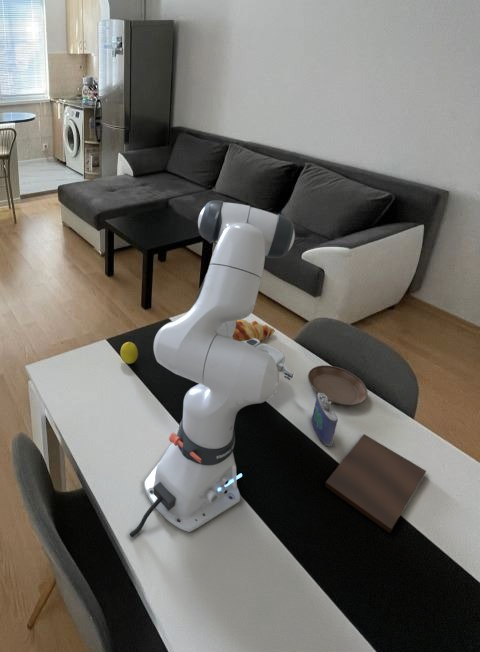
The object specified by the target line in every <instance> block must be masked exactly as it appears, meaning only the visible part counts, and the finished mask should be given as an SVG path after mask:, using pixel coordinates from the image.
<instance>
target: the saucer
mask: <svg viewBox="0 0 480 652" xmlns="http://www.w3.org/2000/svg"><path fill="white" fill-rule="evenodd" d="M307 380H308V383H309V385H310V386H311V387H312V389H313V390H314V391H315V392H316V393H317V394H318V393H323V394H325V395H326V396H327V397H328V402H330V401H331V404H332V403H333V404H335V405H339V406H345V407H346V406H347V407H348V406H349V407H350V406H356V405H359V404H361V403H363V402H365V401H366V400H367V398H368V395H369V393H368V389H367V387H366V384H365V383H364V381H362V380H361V379H360V378H359V377H358V376H356V375H355V374H354V373H352V372H350V371H348V370H346V369H344V368H342V367H338V366H333V365H326V364H324V365H317V366H314V367H311V369H310V370H309V371H308V374H307Z"/></svg>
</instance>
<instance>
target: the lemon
mask: <svg viewBox="0 0 480 652" xmlns="http://www.w3.org/2000/svg"><path fill="white" fill-rule="evenodd" d="M138 356H139V351H138V348H137V346H136V344H135V343H133V342H132V341H127V342H124V343H123V344H122V345H121V348H120V358H121V360H122V361H123V362H124V363H125V364H129V365H131V364H134V363H135V362H136V361H137V359H138Z"/></svg>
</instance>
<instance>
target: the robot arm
mask: <svg viewBox="0 0 480 652" xmlns="http://www.w3.org/2000/svg"><path fill="white" fill-rule="evenodd" d="M197 227H198V233H199V235H200V236H201V238H202V239H204V240H206V241H207V242H208V243H209V244H213V243H216V245H215V247H214V249H213V252H212V255H211V258H210V261H209V265H208V269H207V271H206V274H205V276H204V279H203V281H202V283H201V285H200V287H199V289H198V292H197V295H196V297H195V301H194V303H193V306H192V307H191V308H190V309H189V310H188V311H187V312H186V313H185V314H183V315H182V316H180V317H178V318H177V319H174V320H172V321H170V322H167V323H165V324H164V325H162V327H160V328H159V330H158V331H157V332H156V334H155V337H154V339H153V354H154V358H155V360H156V363H158V364H160V366H162V367H164V368H165V369H167V370H168V371H170V372H172V373H173V374H175V375H177V376H179V377H182V378H185V379H187V380H189V381H192V382H195V383H197V384H196V385H194V386H192V387H190V388H189V390H187V391H186V393H185V395H184V398H183V402H182V403H183V404H182V417H181V421H180V423H179V426H178V430H177V433H175V432H172V433H171V434H170V435H169V437H168V441H169V442H170V445H169V446H168V448H167V450H166V451H165V452H164V454H163V456H162V458H161V459H160V461H158V463H157V464H156V465H155V467H154V468H153V470H151V473H149V475H148V476H147V477H146V479H145V480H144V484H143V486H144V491H145V494H146V496H147V498H148V500H149V501H150V503H151V504H152V505H151V506H150V507H149V508H148V509H147V510H146V512H145V513H144V515H143V516H142V518H141V520H140V522H139V524H138V525H137V526H136V528H134V529H133V530H132V531H131V532H129V536H130V538H133V537H135V536H136V535H137V534H139V532H140V531H141V530H142V529H143V527H144V525H145V524H146V522H147V519H148V518H149V516H150V515H151V514H152V512H153V511H154V510H155V509H156V510H157V512H158V513H159V514H160V515H161V516H163V518H165V519H166V520H167V521H168V522H169V523H170V524H171V525H173V526H175V527H176V528H177V529H179V530H182V531H184V532H187V533H190V532H193V531H195V530H196V529H198V528H200V527H201V526H203V525H204V524H206V523H208V522H209V521H211V520H213V519H214V518H215V517H217V516H219V515H220V514H222V513H224V512H226V511H227V510H229V509H230V508H232V507H233V506H235V505H237V504H238V503H239V502H240V501H241V493H240V490H239V488H238V484H237V483H238V481H237V480H238V479H240V478H242V477H243V474H242V473H239V474H238V475H237V464H236V461H235V456H234V449H235V443H236V433H235V422H236V417H237V415H238V412H240V410H241V409H243V408H245V407H247V406H251V405H256V404H262V403H263V404H264V402H267V401H268V400H270V399H271V398H272V397H273V396H274V395H275V394H276V391H277V388H278V386H279V380H280V373H282V374H283V375H284V378H285V379H287V380H288V381H291V380H292V379H293V378H294V372H292V371H291V370H289V369H288V368H287V366H286V365H285V362H286V355H285V354H284V353H283V352H282V351H280V350H279V349H276V348H275V347H274V346H271V345H269V344H266V343H261V340H260V341H259V340H258V339H255V338H254V339H250V340H246V341H237V340H234V339H233V335H234V332H235V329H236V324H237V321H236V320H240V319H242V320H245V319H246V318H248V317H249V316H250V315H252V313H253V312H254V310H255V306H256V302H257V298H258V294H259V290H260V285H261V282H262V278H263V273H264V267H265V261H266V258H269V259H281V258H282V257H285V256H286V255H287V254H288V252H289V251H290V250H291V248H292V247H293V245H294V242H295V238H296V233H295V224H294V223H293V221H292V220H291V218H288V217H287V216H284V215H282V214H280V213H278V214H275V213H273V212H270V211H267V210H263V209H260V208H257V207H252V206H251V205H246V204H241V203H235V202H224V200H219V199H218V200H217V199H216V200H214V199H213V200H210V201H208V202H207V203H205V205H204V206H203V208H202V209H201V211H200V213H199V215H198V219H197Z"/></svg>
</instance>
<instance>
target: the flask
mask: <svg viewBox="0 0 480 652" xmlns="http://www.w3.org/2000/svg"><path fill="white" fill-rule="evenodd" d="M331 405H332V402H331V401H328V397H327V396H326V395H325V394H323V393H317V394H316V398H315V403H314V409H313V412H312V416H311V425H312V428H313V431H314V432H315V434H316V436H317V438H318V440H319V442H320V443H321V444H322V445H323V446H324V447H327V448H330V447H332V446H333V443H334V438H335V432H336V428H337V424H338V421H339V419H338V416H337V415H336V413H335V411H334V410H333V408H332V407H331Z"/></svg>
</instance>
